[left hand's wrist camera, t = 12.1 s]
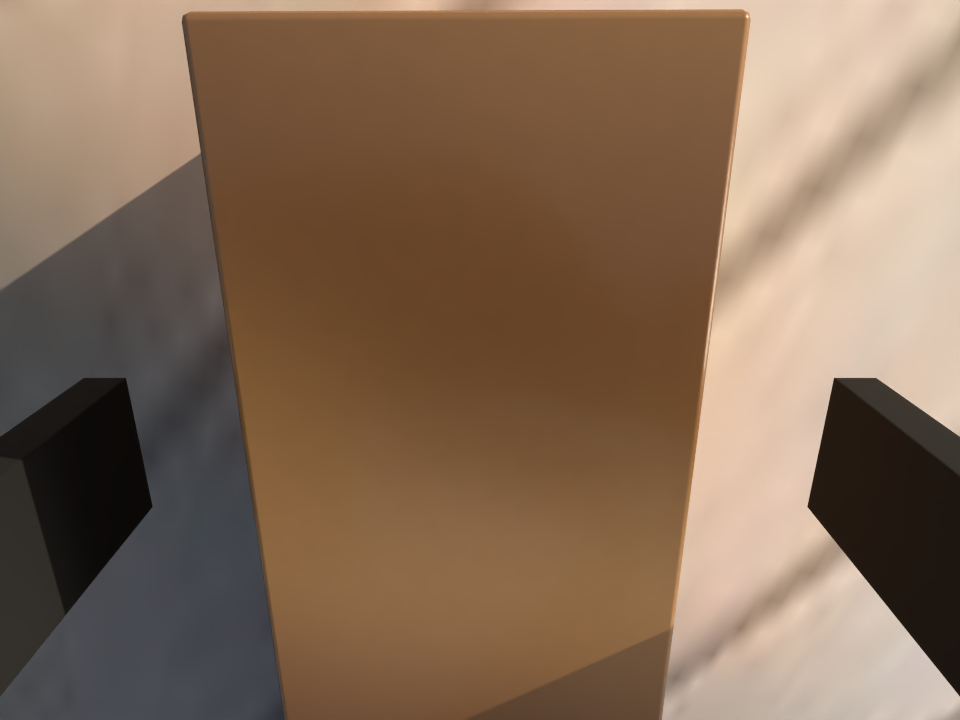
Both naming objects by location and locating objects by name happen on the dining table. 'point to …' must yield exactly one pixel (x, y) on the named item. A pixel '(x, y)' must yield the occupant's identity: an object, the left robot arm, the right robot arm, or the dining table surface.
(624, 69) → the beam
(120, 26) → the dining table surface
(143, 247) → the dining table surface
